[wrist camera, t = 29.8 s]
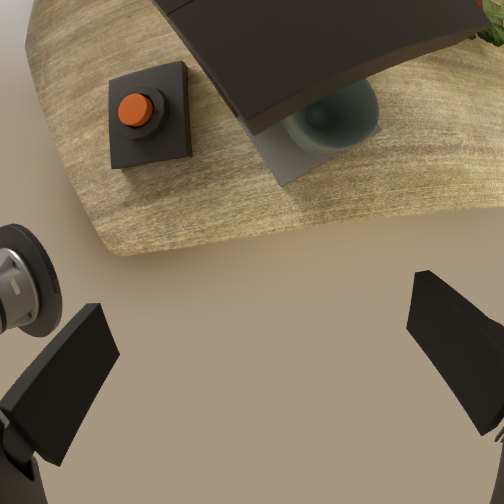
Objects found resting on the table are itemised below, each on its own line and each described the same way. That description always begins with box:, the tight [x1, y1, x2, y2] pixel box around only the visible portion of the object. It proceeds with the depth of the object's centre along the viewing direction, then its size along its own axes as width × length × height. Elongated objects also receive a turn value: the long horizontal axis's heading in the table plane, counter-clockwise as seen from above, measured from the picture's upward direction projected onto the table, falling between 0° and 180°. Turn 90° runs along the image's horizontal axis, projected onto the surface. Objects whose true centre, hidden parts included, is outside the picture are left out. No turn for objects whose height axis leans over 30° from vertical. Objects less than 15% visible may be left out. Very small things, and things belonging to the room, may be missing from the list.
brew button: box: [118, 94, 153, 127], centre depth 26 cm, size 4×4×2 cm
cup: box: [282, 78, 379, 154], centre depth 23 cm, size 8×8×10 cm
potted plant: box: [468, 0, 504, 47], centre depth 15 cm, size 16×15×35 cm
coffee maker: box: [151, 0, 492, 187], centre depth 18 cm, size 14×14×24 cm
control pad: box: [109, 61, 192, 169], centre depth 28 cm, size 10×12×4 cm
